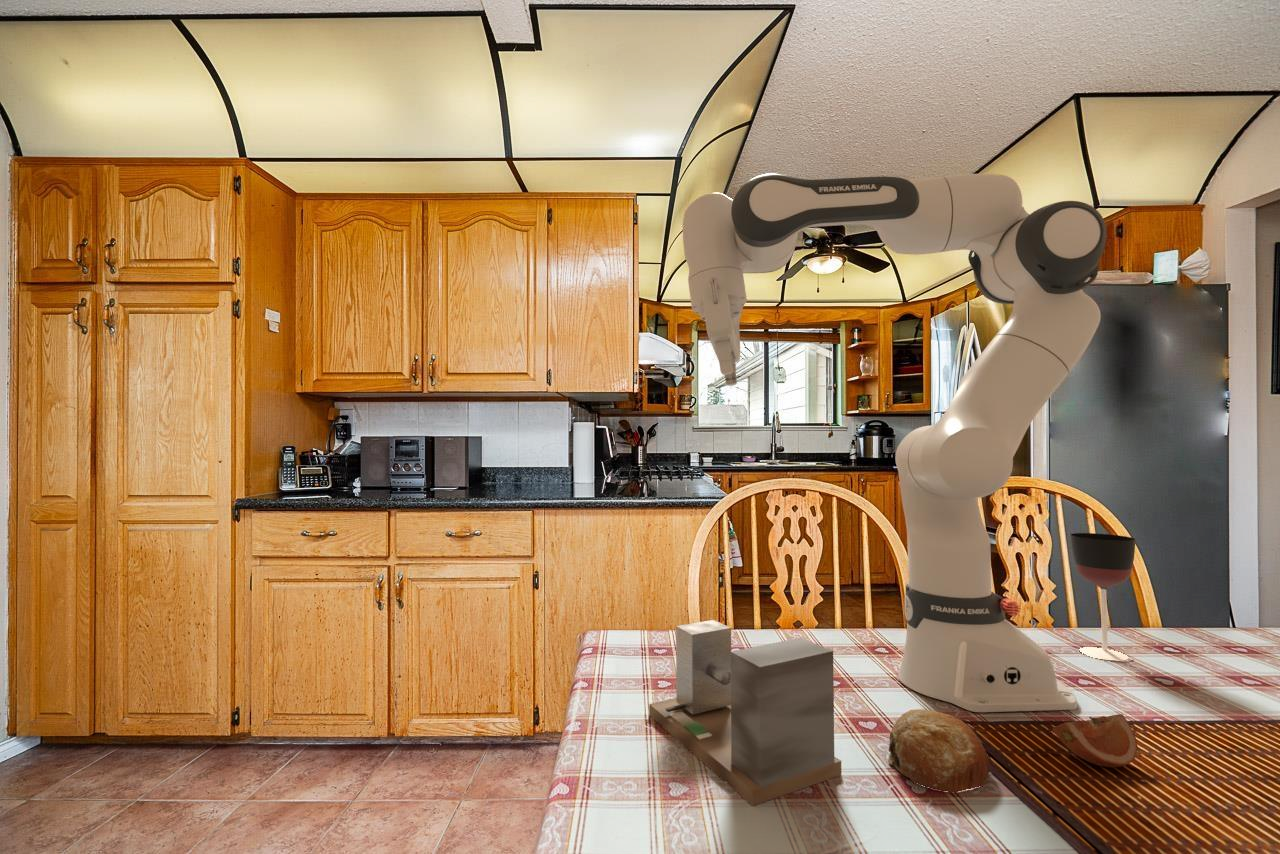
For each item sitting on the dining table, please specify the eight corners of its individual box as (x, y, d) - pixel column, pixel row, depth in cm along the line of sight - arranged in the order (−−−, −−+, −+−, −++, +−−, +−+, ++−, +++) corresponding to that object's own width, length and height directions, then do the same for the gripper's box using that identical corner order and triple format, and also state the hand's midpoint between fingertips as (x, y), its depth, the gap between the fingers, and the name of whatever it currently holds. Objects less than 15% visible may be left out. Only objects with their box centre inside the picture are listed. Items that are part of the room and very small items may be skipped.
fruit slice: (1090, 781, 63) (1089, 734, 63) (1036, 749, 69) (1035, 706, 70) (1153, 772, 65) (1152, 726, 65) (1094, 742, 71) (1093, 700, 71)
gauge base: (649, 715, 78) (649, 613, 79) (723, 697, 84) (723, 601, 84) (753, 805, 59) (751, 668, 59) (841, 774, 64) (839, 649, 64)
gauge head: (659, 706, 77) (659, 628, 77) (714, 693, 81) (713, 619, 81) (687, 729, 70) (687, 645, 71) (745, 714, 74) (745, 634, 75)
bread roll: (888, 778, 70) (859, 717, 70) (961, 737, 71) (933, 677, 71) (936, 832, 60) (903, 762, 60) (1021, 784, 61) (988, 715, 61)
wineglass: (1073, 643, 106) (1070, 531, 107) (1136, 652, 101) (1132, 536, 102) (1073, 655, 100) (1070, 537, 100) (1140, 667, 95) (1137, 542, 95)
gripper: (733, 268, 84) (746, 362, 82) (741, 310, 104) (752, 387, 102) (689, 276, 85) (701, 369, 83) (705, 317, 105) (715, 392, 103)
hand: (729, 379), depth 93 cm, fingers open, 8 cm apart
